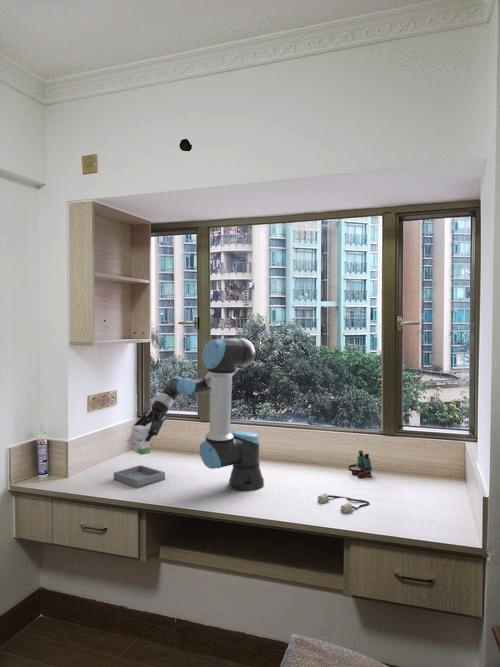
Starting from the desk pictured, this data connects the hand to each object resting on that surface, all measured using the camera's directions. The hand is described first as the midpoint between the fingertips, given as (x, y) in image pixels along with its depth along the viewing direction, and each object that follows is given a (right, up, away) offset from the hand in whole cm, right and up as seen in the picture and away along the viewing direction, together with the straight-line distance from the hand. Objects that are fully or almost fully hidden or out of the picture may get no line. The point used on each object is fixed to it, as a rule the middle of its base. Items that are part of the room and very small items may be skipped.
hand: (134, 445), depth 236 cm
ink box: (+2, -4, +3) cm, 5 cm away
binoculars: (+102, -15, +2) cm, 103 cm away
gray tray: (+2, -16, +2) cm, 16 cm away
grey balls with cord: (+88, -17, -32) cm, 95 cm away
